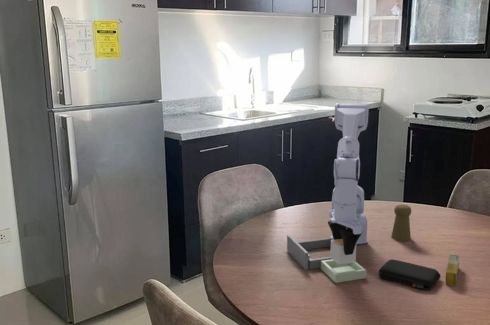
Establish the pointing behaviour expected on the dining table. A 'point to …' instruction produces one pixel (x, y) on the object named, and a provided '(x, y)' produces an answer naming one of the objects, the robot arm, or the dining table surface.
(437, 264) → the dining table surface
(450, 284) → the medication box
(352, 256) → the block
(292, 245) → the case
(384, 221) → the dining table surface
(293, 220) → the dining table surface
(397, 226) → the cork
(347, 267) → the bay
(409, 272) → the carrying case or bag
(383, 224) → the dining table surface
